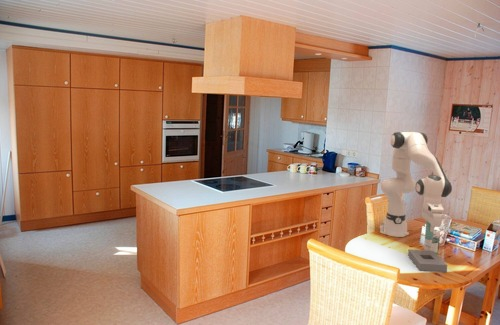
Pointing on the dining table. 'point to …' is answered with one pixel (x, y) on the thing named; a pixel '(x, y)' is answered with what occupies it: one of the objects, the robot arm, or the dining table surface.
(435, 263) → the hole block
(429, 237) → the peg
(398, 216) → the robot arm
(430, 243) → the syrup box
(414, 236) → the dining table surface
